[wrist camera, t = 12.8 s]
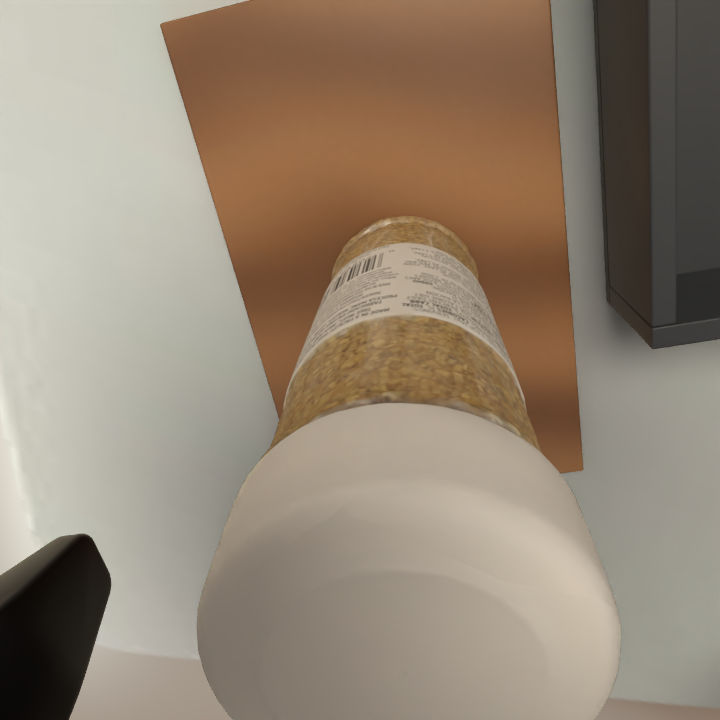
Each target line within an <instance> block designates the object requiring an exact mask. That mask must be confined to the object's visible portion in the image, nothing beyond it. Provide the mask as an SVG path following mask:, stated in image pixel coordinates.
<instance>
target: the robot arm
mask: <svg viewBox="0 0 720 720" xmlns="http://www.w3.org/2000/svg"><path fill="white" fill-rule="evenodd" d="M110 590H111V577H110V573H109V571H108V569H107V567H106V565H105V563H104V561H103V559H102V557H101V555H100V553H99V551H98V549H97V547H96V545H95V543H94V541H93V539H92V538H91V537H90V536H89V535H87V534H75V535H67V536H61V537H58V538H57V539H55V540H53V541H52V542H50V543H49V544H47V545H46V546H44V547H43V548H41V549H40V550H38V551H37V552H35V553H34V554H32V555H31V556H29V557H28V558H26V559H25V560H23V561H22V562H21V563H19V564H17V565H16V566H14V567H13V568H11V569H10V570H8V571H7V572H5V573H3V574H2V575H0V720H69V718H70V715H71V713H72V710H73V708H74V705H75V703H76V700H77V697H78V695H79V692H80V689H81V686H82V683H83V680H84V677H85V674H86V670H87V667H88V664H89V661H90V657H91V654H92V651H93V647H94V644H95V641H96V637H97V634H98V631H99V628H100V624H101V621H102V618H103V614H104V611H105V608H106V604H107V601H108V598H109V595H110Z"/></svg>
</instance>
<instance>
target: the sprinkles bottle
mask: <svg viewBox="0 0 720 720" xmlns="http://www.w3.org/2000/svg"><path fill="white" fill-rule="evenodd" d="M197 639H198V651H199V655H200V658H201V662H202V666H203V669H204V672H205V675H206V677H207V680H208V682H209V684H210V686H211V688H212V690H213V692H214V694H215V696H216V698H217V699H218V701H219V702H220V704H221V705H222V706H223V708H224V709H225V711H226V712H227V714H228V715H229V716H230V717H231V718H232V719H233V720H595V718H596V717H597V715H598V714H599V712H600V711H601V709H602V708H603V706H604V705H605V703H606V701H607V699H608V697H609V694H610V692H611V690H612V687H613V685H614V682H615V679H616V675H617V672H618V669H619V662H620V651H621V626H620V620H619V616H618V611H617V607H616V602H615V598H614V595H613V593H612V590H611V587H610V585H609V582H608V579H607V576H606V574H605V571H604V568H603V566H602V563H601V560H600V558H599V555H598V552H597V550H596V547H595V545H594V542H593V540H592V538H591V535H590V533H589V531H588V528H587V526H586V523H585V520H584V518H583V515H582V513H581V510H580V508H579V505H578V503H577V500H576V498H575V497H574V495H573V493H572V491H571V490H570V488H569V486H568V484H567V483H566V481H565V480H564V478H563V477H562V476H561V474H560V473H559V471H558V470H557V469H556V468H555V467H554V466H553V465H552V464H551V462H550V461H549V460H548V459H547V458H546V457H545V456H544V455H543V452H542V450H541V448H540V446H539V444H538V441H537V437H536V435H535V433H534V430H533V427H532V425H531V423H530V419H529V417H528V415H527V411H526V404H525V398H524V396H523V393H522V390H521V387H520V384H519V382H518V379H517V376H516V374H515V371H514V368H513V365H512V363H511V360H510V358H509V355H508V353H507V350H506V348H505V345H504V343H503V340H502V338H501V335H500V333H499V330H498V328H497V325H496V322H495V319H494V317H493V314H492V311H491V308H490V306H489V303H488V300H487V298H486V295H485V293H484V291H483V289H482V287H481V285H480V284H479V280H478V271H477V267H476V263H475V261H474V259H473V258H472V256H471V255H470V253H469V251H468V248H467V247H466V245H465V244H464V243H463V242H462V240H461V239H460V238H459V237H458V236H457V235H456V234H455V233H454V232H452V231H450V230H449V229H447V228H446V227H445V226H443V225H442V224H440V223H438V222H436V221H432V220H428V219H425V218H422V217H415V216H398V217H390V218H386V219H383V220H379V221H376V222H374V223H373V224H371V225H370V226H368V227H366V228H364V229H362V230H361V231H360V232H359V233H358V234H357V235H356V236H354V237H353V238H351V239H350V240H349V241H348V242H347V244H346V245H345V246H344V248H343V249H342V251H341V253H340V255H339V256H338V258H337V260H336V262H335V264H334V267H333V271H332V277H331V283H330V284H329V286H328V288H327V290H326V292H325V294H324V296H323V299H322V301H321V304H320V306H319V309H318V311H317V314H316V316H315V319H314V321H313V324H312V327H311V329H310V331H309V334H308V336H307V339H306V341H305V344H304V346H303V349H302V351H301V354H300V356H299V359H298V361H297V364H296V367H295V369H294V372H293V375H292V378H291V380H290V383H289V386H288V389H287V392H286V396H285V401H284V407H283V412H282V414H281V418H280V421H279V423H278V427H277V430H276V434H275V437H274V439H273V442H272V444H271V447H270V448H269V449H268V451H267V452H266V453H265V454H264V456H263V457H262V458H261V459H260V461H259V462H258V463H257V465H256V466H255V467H254V468H253V470H252V471H251V472H250V473H249V475H248V476H247V478H246V479H245V481H244V483H243V485H242V487H241V488H240V490H239V492H238V495H237V497H236V500H235V502H234V504H233V507H232V509H231V512H230V514H229V517H228V520H227V523H226V525H225V528H224V531H223V534H222V536H221V539H220V542H219V545H218V547H217V550H216V553H215V556H214V559H213V561H212V564H211V567H210V570H209V573H208V576H207V578H206V581H205V584H204V587H203V590H202V594H201V598H200V602H199V607H198V616H197Z"/></svg>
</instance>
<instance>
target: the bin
mask: <svg viewBox="0 0 720 720" xmlns="http://www.w3.org/2000/svg"><path fill="white" fill-rule="evenodd" d="M593 1H594V23H595V45H596V67H597V89H598V111H599V133H600V155H601V177H602V199H603V221H604V243H605V265H606V287H607V301H608V302H609V303H610V304H611V305H612V306H613V307H614V308H615V309H616V310H617V312H618V313H619V314H620V315H621V316H622V317H623V318H624V319H625V320H626V321H627V322H628V323H629V324H630V325H631V327H632V328H633V329H634V330H635V331H636V332H637V333H638V334H639V335H640V336H641V337H642V338H643V339H644V340H645V342H646V343H647V344H648V345H649V346H650V347H651V348H652V349H658V348H664V347H671V346H677V345H684V344H690V343H697V342H703V341H710V340H716V339H720V0H593Z"/></svg>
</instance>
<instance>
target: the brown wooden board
mask: <svg viewBox="0 0 720 720" xmlns="http://www.w3.org/2000/svg"><path fill="white" fill-rule="evenodd" d="M160 27H161V30H162V33H163V36H164V40H165V43H166V46H167V50H168V53H169V56H170V60H171V63H172V66H173V69H174V73H175V76H176V79H177V83H178V86H179V89H180V93H181V96H182V99H183V102H184V106H185V109H186V112H187V116H188V119H189V122H190V126H191V129H192V132H193V136H194V139H195V142H196V145H197V149H198V152H199V155H200V159H201V162H202V165H203V169H204V172H205V175H206V178H207V182H208V185H209V188H210V192H211V195H212V198H213V202H214V205H215V208H216V211H217V215H218V218H219V221H220V225H221V228H222V231H223V235H224V238H225V241H226V244H227V248H228V251H229V254H230V258H231V261H232V264H233V268H234V271H235V274H236V277H237V281H238V284H239V287H240V291H241V294H242V297H243V301H244V304H245V307H246V310H247V314H248V317H249V320H250V324H251V327H252V330H253V334H254V337H255V340H256V344H257V347H258V350H259V353H260V357H261V360H262V363H263V367H264V370H265V373H266V377H267V380H268V383H269V386H270V390H271V393H272V396H273V400H274V403H275V406H276V410H277V413H278V416H279V419H280V418H281V414H282V412H283V407H284V401H285V396H286V392H287V389H288V386H289V383H290V380H291V378H292V375H293V372H294V369H295V367H296V364H297V361H298V359H299V356H300V354H301V351H302V349H303V346H304V344H305V341H306V339H307V336H308V334H309V331H310V329H311V327H312V324H313V321H314V319H315V316H316V314H317V311H318V309H319V306H320V304H321V301H322V299H323V296H324V294H325V292H326V290H327V288H328V286H329V284H330V283H331V277H332V271H333V267H334V264H335V262H336V260H337V258H338V256H339V255H340V253H341V251H342V249H343V248H344V246H345V245H346V244H347V242H348V241H349V240H350V239H351V238H353V237H354V236H356V235H357V234H358V233H359V232H360V231H361V230H362V229H364V228H366V227H368V226H370V225H371V224H373V223H374V222H376V221H379V220H383V219H386V218H390V217H398V216H415V217H422V218H425V219H428V220H432V221H436V222H438V223H440V224H442V225H443V226H445V227H446V228H447V229H449V230H450V231H452V232H454V233H455V234H456V235H457V236H458V237H459V238H460V239H461V240H462V242H463V243H464V244H465V245H466V247H467V248H468V251H469V253H470V255H471V256H472V258H473V259H474V261H475V263H476V267H477V271H478V280H479V284H480V285H481V287H482V289H483V291H484V293H485V295H486V298H487V300H488V303H489V306H490V308H491V311H492V314H493V317H494V319H495V322H496V325H497V328H498V330H499V333H500V335H501V338H502V340H503V343H504V345H505V348H506V350H507V353H508V355H509V358H510V360H511V363H512V365H513V368H514V371H515V374H516V376H517V379H518V382H519V384H520V387H521V390H522V393H523V396H524V398H525V404H526V411H527V415H528V417H529V419H530V423H531V425H532V427H533V430H534V433H535V435H536V437H537V441H538V444H539V446H540V448H541V450H542V452H543V455H544V456H545V457H546V458H547V459H548V460H549V461H550V462H551V464H552V465H553V466H554V467H555V468H556V469H557V470H558V471H559V473H567V472H575V471H582V470H583V457H582V443H581V429H580V415H579V401H578V386H577V372H576V358H575V344H574V330H573V316H572V301H571V287H570V273H569V259H568V245H567V231H566V216H565V202H564V188H563V174H562V160H561V146H560V131H559V117H558V103H557V89H556V75H555V61H554V46H553V32H552V18H551V4H550V0H249V1H245V2H241V3H237V4H233V5H230V6H226V7H222V8H218V9H214V10H211V11H207V12H203V13H199V14H195V15H191V16H188V17H184V18H180V19H176V20H172V21H169V22H165V23H162V24H160Z"/></svg>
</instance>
